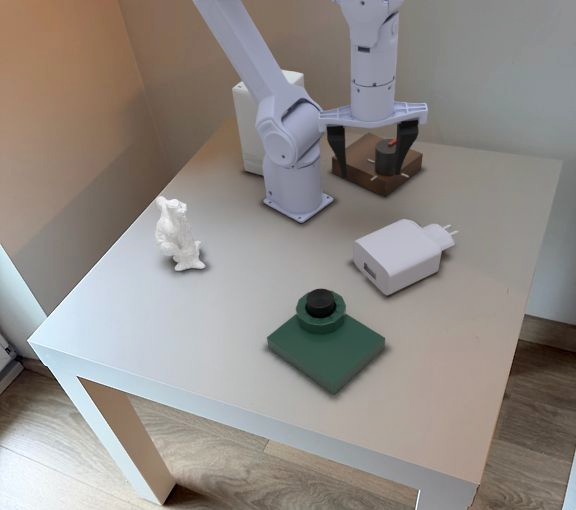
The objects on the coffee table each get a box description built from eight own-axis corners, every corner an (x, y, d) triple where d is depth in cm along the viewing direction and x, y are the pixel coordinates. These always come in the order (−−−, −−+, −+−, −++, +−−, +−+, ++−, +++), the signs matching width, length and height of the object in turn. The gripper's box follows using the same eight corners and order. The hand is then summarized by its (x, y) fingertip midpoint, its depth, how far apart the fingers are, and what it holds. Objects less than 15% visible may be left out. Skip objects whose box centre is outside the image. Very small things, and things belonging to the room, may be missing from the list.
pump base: (267, 347, 73) (263, 327, 70) (320, 303, 77) (319, 282, 74) (334, 395, 68) (333, 376, 64) (388, 345, 71) (390, 325, 68)
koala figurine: (218, 266, 84) (201, 199, 75) (181, 285, 82) (158, 220, 73) (193, 239, 89) (174, 174, 79) (157, 257, 87) (133, 192, 77)
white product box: (285, 183, 96) (275, 97, 84) (244, 171, 99) (229, 88, 87) (310, 157, 100) (305, 72, 88) (270, 146, 104) (260, 63, 92)
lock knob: (389, 179, 88) (390, 154, 85) (369, 169, 91) (369, 145, 87) (406, 167, 90) (408, 142, 87) (386, 158, 92) (387, 133, 89)
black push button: (301, 310, 72) (300, 299, 70) (320, 295, 73) (319, 284, 72) (321, 322, 70) (320, 312, 69) (340, 307, 72) (339, 296, 70)
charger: (471, 258, 80) (387, 298, 77) (432, 226, 85) (352, 263, 82) (477, 232, 76) (389, 273, 73) (436, 200, 81) (352, 237, 78)
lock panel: (327, 176, 96) (326, 159, 93) (368, 147, 100) (368, 131, 98) (390, 205, 89) (391, 188, 87) (432, 174, 93) (434, 157, 91)
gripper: (427, 57, 70) (417, 154, 81) (316, 67, 72) (321, 161, 83) (433, 82, 66) (422, 181, 77) (316, 92, 68) (321, 188, 78)
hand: (370, 172), depth 80 cm, fingers open, 7 cm apart
